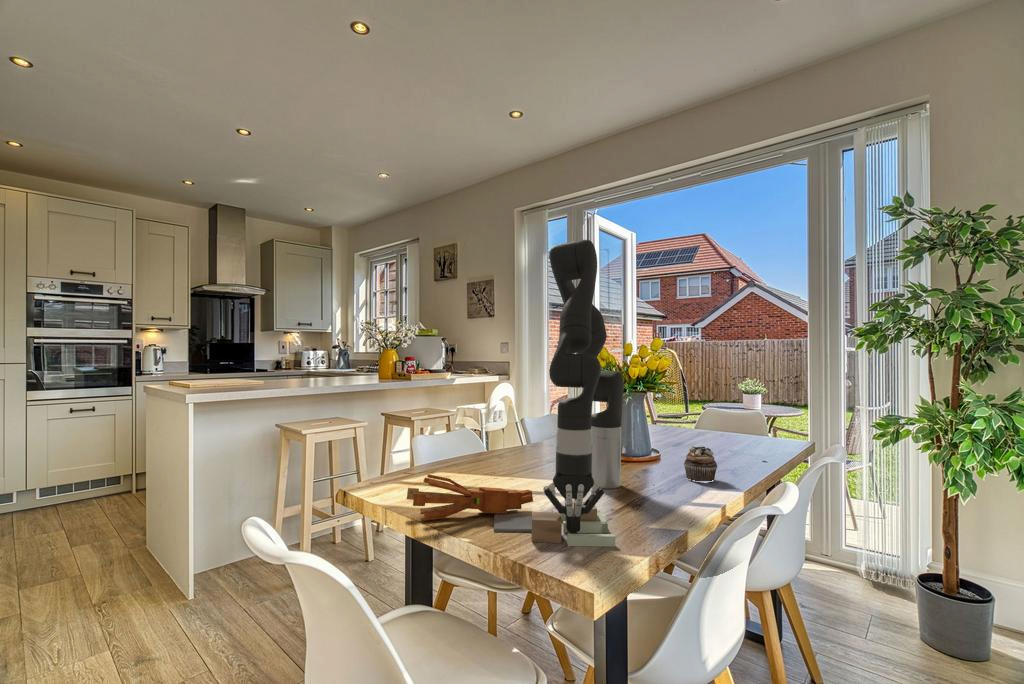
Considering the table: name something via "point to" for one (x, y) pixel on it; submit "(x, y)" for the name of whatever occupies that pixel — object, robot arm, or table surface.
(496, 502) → the toy
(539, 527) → the block
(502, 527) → the pad
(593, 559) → the table surface
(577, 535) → the rack
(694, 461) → the cupcake
